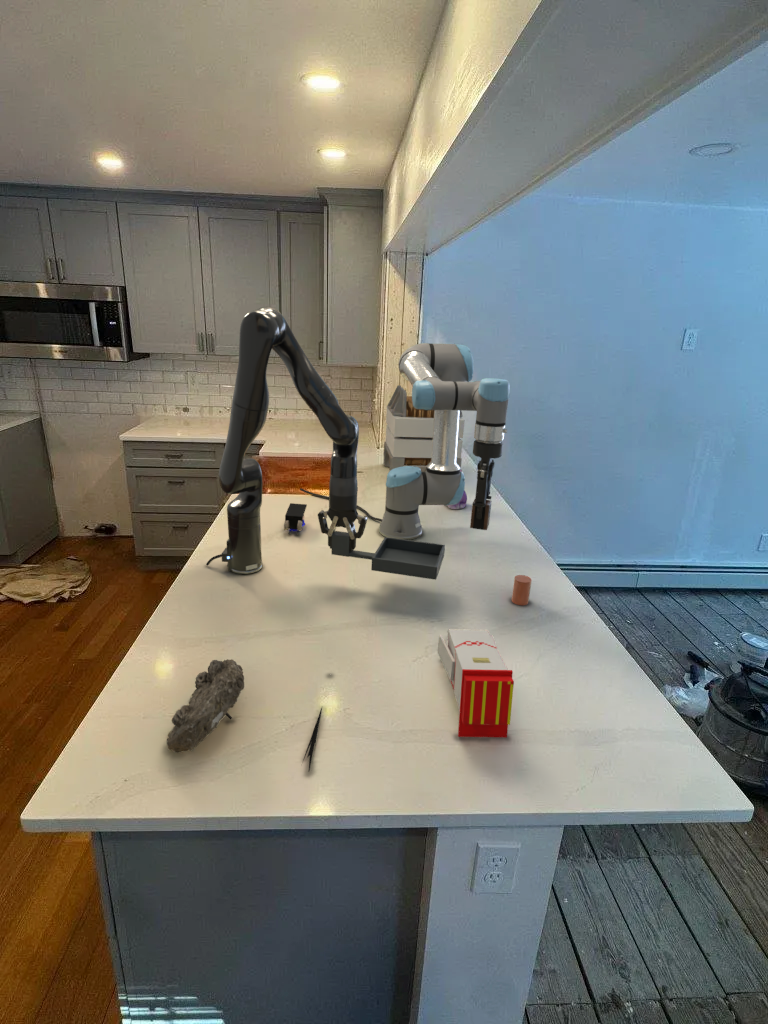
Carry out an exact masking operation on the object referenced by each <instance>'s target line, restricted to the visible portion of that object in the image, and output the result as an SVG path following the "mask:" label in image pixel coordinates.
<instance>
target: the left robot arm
mask: <svg viewBox="0 0 768 1024" xmlns="http://www.w3.org/2000/svg"><path fill="white" fill-rule="evenodd" d="M294 334H295V333H294V332H293V331H292V328H291V327H290V325H289V324H288V321H287V320H286V318H285V316H283V314H282V313H281V312H280V311H279V310H278V309H276V308H274V307H272V306H262V307H259V308H257V309H254V310H251V311H249V312H248V313H246V314H245V315H244V316H243V318H242V319H241V322H240V327H239V338H238V339H239V344H238V362H237V363H238V365H237V370H236V376H235V383H234V389H233V395H232V401H231V408H230V415H229V423H228V429H227V435H226V442H225V444H224V445H225V446H224V449H223V453H222V455H221V456H222V457H221V461H220V464H219V470H218V483H219V486H220V488H221V490H222V492H224V493H225V494H228V495H237V496H236V497H235V498H233V499H232V500H231V501H229V503H228V504H227V506H226V515H227V517H226V518H227V533H228V538H227V540H226V547H225V548H224V549H223V551H222V552H221V553H220V554H216V555H214V556H213V557H211V558H209V560H208V561H207V562H206V563H205V566H209V565H210V564H211V563H212V562H213V561H215V560H216V559H218V558H221V562H222V563H227V571H228V572H232V573H234V574H238V575H250V574H255V573H257V572H259V571H261V570H262V568H263V558H262V531H261V530H262V529H261V528H262V527H261V507H262V505H263V471H262V468H261V465H260V463H259V462H258V460H257V459H255V458H253V457H245V456H246V454H247V451H248V449H249V448H250V446H251V445H252V443H253V442H254V441H255V440H256V439H257V437H258V435H259V434H260V433H261V431H262V430H263V428H264V427H265V425H266V421H267V416H268V412H269V405H270V390H269V386H268V380H267V370H268V366H269V365H268V364H269V361H270V360H269V359H270V356H271V352H272V351H273V352H275V354H277V356H278V357H279V358H280V359H281V361H282V362H283V364H284V366H285V368H286V370H287V372H288V373H289V376H290V378H291V381H292V383H293V385H294V387H295V389H296V391H297V393H298V395H299V397H300V398H301V399H302V401H304V403H305V404H306V405H307V407H308V408H309V409H310V410H311V412H312V413H313V414H314V415H315V416H316V417H317V419H318V421H319V423H320V425H321V427H323V429H324V431H325V433H326V435H327V436H328V437H329V438H330V440H331V441H332V453H331V457H330V474H329V475H330V477H329V483H328V497H329V499H328V510H323V509H322V510H320V511H319V512H318V513H317V518H318V523H319V527H320V531H321V533H322V534H325V535H327V546H328V547H329V549H330V550H332V534H333V533H334V532H335V531H336V529H337V528H344V529H346V532H348V533H349V535H350V546H349V551H350V552H352V551H353V550H356V548H357V539H361V538H362V536H363V535H364V532H365V529H366V525H367V524H368V523H367V522H368V518H369V517H368V516H367V515H364V516H362V515H360V514H359V512H358V508H357V506H358V491H359V487H358V446H359V440H360V439H359V437H360V425H359V422H358V421H357V419H356V418H355V417H354V416H352V415H351V414H346V412H345V411H344V410H343V409H342V407H341V406H340V404H339V400H338V398H337V396H336V395H335V393H334V392H333V391H332V390H331V388H330V387H329V385H328V384H327V383H326V382H325V380H324V379H323V378H322V376H321V375H320V374H319V372H318V371H317V370H316V368H315V367H314V365H313V363H311V361H310V359H309V358H308V357H307V355H306V353H305V351H304V349H303V348H302V347H301V345H300V343H299V341H298V339H297V338H296V336H295V335H294ZM328 518H329V519H330V521H331V524H330V526H329V525H328V521H327V519H328ZM356 520H357V523H358V525H359V526H358V530H356V526H355V523H354V522H355V521H356Z"/></svg>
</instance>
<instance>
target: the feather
mask: <svg viewBox="0 0 768 1024" xmlns="http://www.w3.org/2000/svg"><path fill="white" fill-rule="evenodd" d="M329 675H330V676H331V675H332V674H331V673H330V674H329ZM322 710H323V707H321V708H320V710H319V713H318V716H317V719H316V723H315V725H314V728H313V731H312V733H311V737H310V739H309V742H308V745H307V748H306V751H305V754H304V757H303V760H302V763H301V767H302V765H303V763H304V761H305V758H308V759H309V760H308V762H307V763H308V764H307V766H308V771H310V770H311V766H312V765H311V764H312V760H313V757H315V756H314V755H315V751H316V749H315V746H317V739H318V733H319V729H320V722H321V717H322V712H323V711H322ZM313 754H314V755H313ZM306 755H307V757H306Z"/></svg>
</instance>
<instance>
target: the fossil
mask: <svg viewBox="0 0 768 1024" xmlns="http://www.w3.org/2000/svg"><path fill="white" fill-rule="evenodd" d="M243 670H244V669H243V667H242V665H240V664H237V662H236V661H235V660H234V659H232V658H231V659H227V658H226V659H224V660H223V661H222V660H217V659H212V660H211V661H210V663H209V665H208V666H207V671H201V672H199V673H198V674H197V675H196V676H195V680H194V684H195V685H194V687H195V689H194V690H193V693H192V694H191V697H190V698H189V700H188V704H184V705H182V706H181V707H180V709H177V710H176V711H175V713H174V715H173V716H172V718H171V723H172V724H173V727H172V730H171V731H170V732H168V734H167V738H166V741H167V742H166V745H167V749H168V750H169V751H173V752H174V753H176V754H178V753H182V752H188V751H189V752H192V751H193V750H195V748H196V747H197V746H199V744H200V743H201V742H203V741H204V740H205V739H206V738H207V737H208V736H209V735H210V734H211V733H212V732H214V730H215V729H217V727H218V726H219V724H220V722H221V721H222V720H223V719H224V718H225V716H226V717H227V719H229V720H233V717H232V715H230V714H229V710H230V709H231V708H234V706H235V704H236V703H237V702H238V699H239V697H240V695H241V693H242V691H243V690H245V689H244V688H245V675H244V671H243Z"/></svg>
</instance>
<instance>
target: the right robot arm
mask: <svg viewBox="0 0 768 1024" xmlns="http://www.w3.org/2000/svg"><path fill="white" fill-rule="evenodd" d="M474 368H475V367H474V358H473V354H472V351H471V349H470V347H469V346H467V345H465V344H458V343H429V342H422V343H417V344H414V345H411V346H410V347H408V348H406V350H404V351H403V352H402V354H401V355H400V357H399V360H398V370H399V373H400V375H401V377H402V378H403V379H404V380H405V381H407V382H409V384H410V385H411V386H412V390H411V396H412V402H413V406H414V408H416V409H423V410H434V423H433V440H432V457H431V462H430V463H429V464H428V465H427V466H426V471H422V469H421V467H420V466H407V465H404V466H403V467H397V468H394V469H392V470H391V471H390V470H388V473H387V475H386V480H385V481H386V482H385V487H386V488H385V504H384V505H385V507H384V508H385V509H384V513H383V515H382V518H378V517H375V516H373V515H371V514H370V513H369V512H368V511H367V510H366V509H365V508H363V507H361V506H360V505H357V510H360V511H362V512H363V513H364V514H365V516H367V517H368V518H369V519H371V520H373V521H378V522H379V527H378V533H379V534H380V535H381V536H382V537H384V538H385V537H390V538H397V539H405V540H415V539H418V538H420V537H421V536H422V535H423V525H422V524H421V518H420V515H419V507H420V506H447V505H455V504H457V503H458V502H459V501H460V500H461V498H462V496H463V492H464V491H465V486H466V481H465V480H466V478H465V474H464V472H463V471H462V472H461V471H460V467H459V466H458V465H457V463H456V458H457V444H458V430H459V416H460V410H461V411H462V412H463V411H464V412H465V411H467V412H476V416H475V425H474V432H473V438H474V439H475V440H474V441H473V444H472V445H473V446H472V455H474V456H475V457H478V458H480V460H479V461H478V462H477V468H476V469H477V472H476V473H477V474H476V487H475V497H474V500H475V503H473V502H472V503H473V506H475V513H474V523H473V528H472V529H475V530H481V531H484V530H483V528H484V519H485V510H486V504H485V503H486V500H491V501H492V495H491V485H492V477H493V473H494V468H495V465H496V464H495V460H496V459H500V458H502V456H503V449H504V443H503V441H504V440H505V439H504V438H505V434H507V433H508V429H506V425H507V423H506V422H507V417H508V416H507V415H508V408H509V400H510V395H511V393H510V388H511V386H510V385H511V384H510V382H509V380H507V379H502V378H495V377H494V378H493V377H485V378H482V379H481V380H472V379H473V377H474V376H473V375H474ZM494 459H495V460H494ZM299 491H301V492H304V494H308V495H311V496H314V497H318V498H322V499H327V500H329V496H326V495H323V494H318V493H315V492H312V491H309V490H306V489H304V488H302V487H300V488H299ZM447 507H448V506H447Z"/></svg>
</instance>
